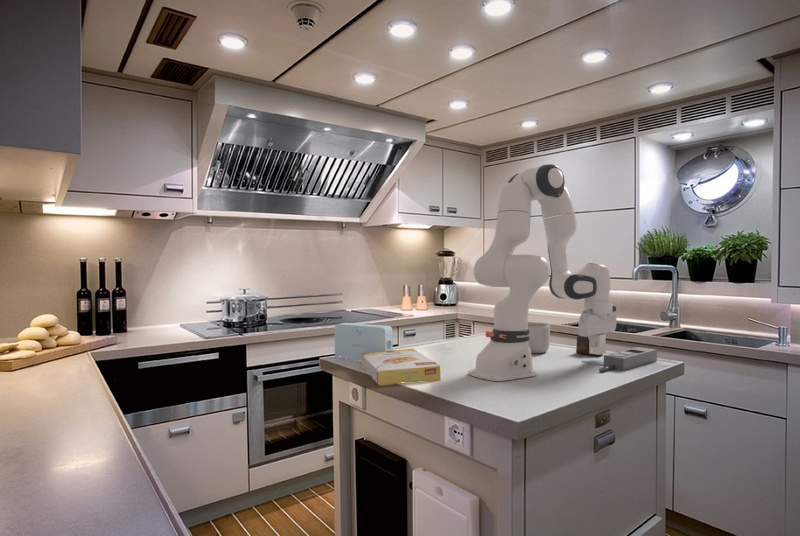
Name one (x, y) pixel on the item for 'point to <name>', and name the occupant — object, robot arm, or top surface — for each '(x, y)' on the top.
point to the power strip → (629, 358)
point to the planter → (539, 337)
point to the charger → (599, 345)
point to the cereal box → (400, 367)
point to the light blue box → (361, 339)
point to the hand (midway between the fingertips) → (597, 346)
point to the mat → (594, 361)
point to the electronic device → (583, 346)
